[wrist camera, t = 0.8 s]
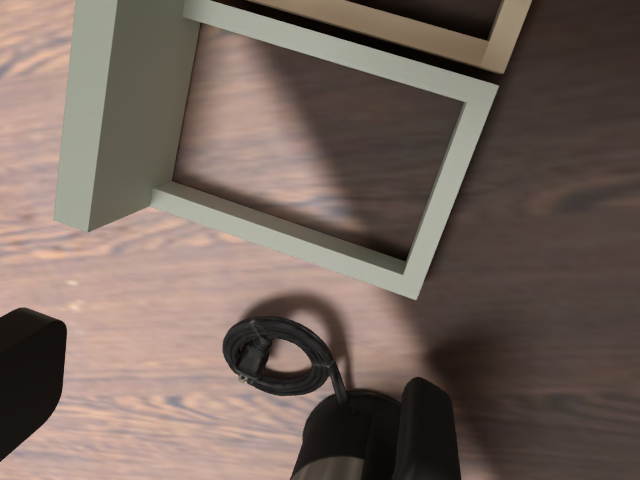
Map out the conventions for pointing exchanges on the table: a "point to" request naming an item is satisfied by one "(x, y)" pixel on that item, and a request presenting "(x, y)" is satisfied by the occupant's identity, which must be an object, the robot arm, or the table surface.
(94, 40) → the frame
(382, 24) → the wooden drawer
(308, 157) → the table surface
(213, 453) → the table surface
